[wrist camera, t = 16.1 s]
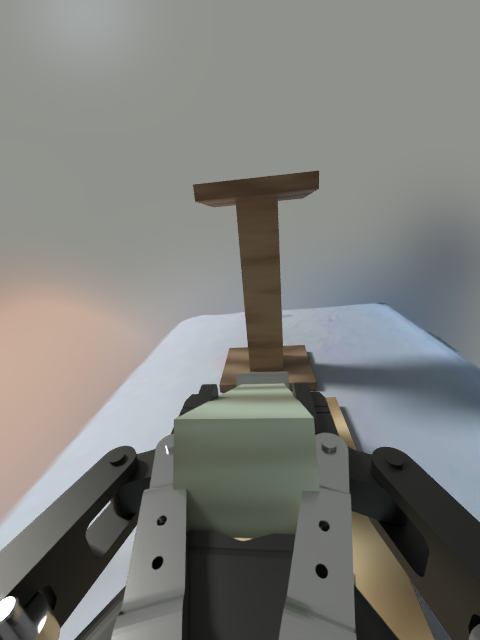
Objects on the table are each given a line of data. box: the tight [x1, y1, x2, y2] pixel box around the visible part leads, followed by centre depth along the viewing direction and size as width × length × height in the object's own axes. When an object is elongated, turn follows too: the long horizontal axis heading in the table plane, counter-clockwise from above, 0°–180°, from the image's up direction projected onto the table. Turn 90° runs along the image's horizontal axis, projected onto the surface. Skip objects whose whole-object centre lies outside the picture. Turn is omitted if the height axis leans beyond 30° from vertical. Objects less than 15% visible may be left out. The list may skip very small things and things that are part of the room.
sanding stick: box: [173, 372, 320, 539], centre depth 20 cm, size 26×5×4 cm, turn 174°
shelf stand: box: [193, 171, 319, 392], centre depth 46 cm, size 14×16×32 cm
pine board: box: [235, 397, 434, 640], centre depth 25 cm, size 32×20×2 cm, turn 175°
